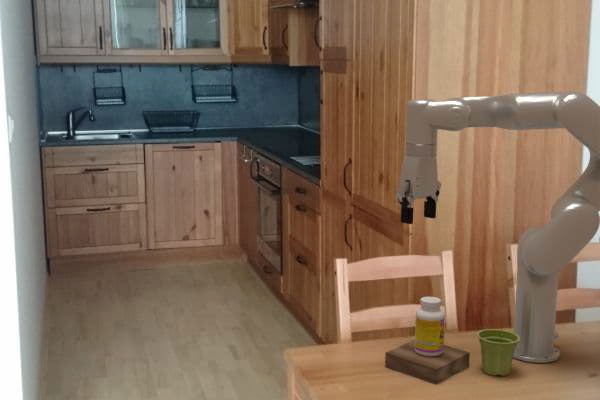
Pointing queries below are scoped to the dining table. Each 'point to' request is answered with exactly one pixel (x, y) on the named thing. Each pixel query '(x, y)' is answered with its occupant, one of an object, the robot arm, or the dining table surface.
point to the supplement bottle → (429, 327)
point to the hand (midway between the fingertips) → (418, 220)
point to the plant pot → (497, 350)
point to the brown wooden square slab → (427, 362)
